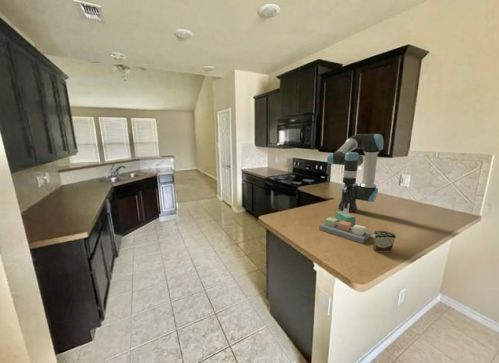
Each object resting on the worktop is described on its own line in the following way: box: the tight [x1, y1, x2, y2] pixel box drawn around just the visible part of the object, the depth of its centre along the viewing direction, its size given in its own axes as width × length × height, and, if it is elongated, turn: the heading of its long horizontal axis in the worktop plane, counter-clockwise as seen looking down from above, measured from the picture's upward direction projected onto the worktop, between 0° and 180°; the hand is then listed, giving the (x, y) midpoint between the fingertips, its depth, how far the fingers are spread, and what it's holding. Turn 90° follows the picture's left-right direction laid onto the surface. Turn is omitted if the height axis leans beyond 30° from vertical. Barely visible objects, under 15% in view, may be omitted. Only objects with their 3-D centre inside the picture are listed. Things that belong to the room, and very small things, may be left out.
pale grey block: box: [352, 223, 367, 236], centre depth 138 cm, size 6×6×4 cm
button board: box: [318, 222, 372, 245], centre depth 145 cm, size 14×28×3 cm, turn 45°
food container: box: [372, 230, 397, 253], centre depth 125 cm, size 12×6×10 cm, turn 92°
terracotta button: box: [338, 221, 351, 231], centre depth 145 cm, size 6×6×4 cm
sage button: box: [324, 216, 338, 227], centre depth 151 cm, size 6×6×4 cm
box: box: [334, 210, 357, 227], centre depth 161 cm, size 7×14×8 cm, turn 14°
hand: (345, 212), depth 143 cm, fingers closed
